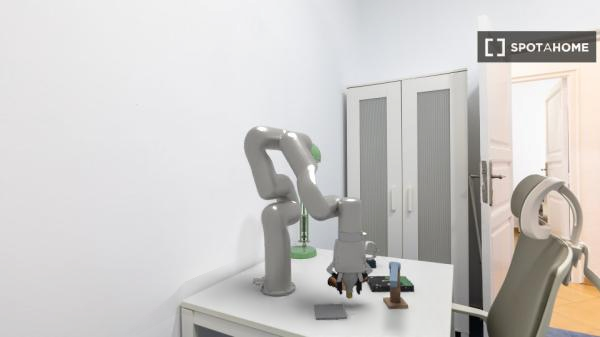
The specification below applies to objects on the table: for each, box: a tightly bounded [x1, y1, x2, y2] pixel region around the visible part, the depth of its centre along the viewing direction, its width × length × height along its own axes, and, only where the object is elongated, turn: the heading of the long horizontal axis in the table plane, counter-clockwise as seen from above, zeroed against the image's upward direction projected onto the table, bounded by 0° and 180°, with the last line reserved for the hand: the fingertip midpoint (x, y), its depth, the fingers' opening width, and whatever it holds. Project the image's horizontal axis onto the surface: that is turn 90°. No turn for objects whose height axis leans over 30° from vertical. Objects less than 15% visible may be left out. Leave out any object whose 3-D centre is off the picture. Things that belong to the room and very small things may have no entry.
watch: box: [364, 240, 379, 269], centre depth 138 cm, size 6×8×11 cm
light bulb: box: [341, 272, 358, 300], centre depth 100 cm, size 6×6×10 cm
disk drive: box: [366, 275, 415, 293], centre depth 115 cm, size 10×3×15 cm
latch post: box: [382, 269, 409, 310], centre depth 100 cm, size 6×6×11 cm
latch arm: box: [388, 261, 402, 287], centre depth 93 cm, size 18×4×2 cm, turn 162°
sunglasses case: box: [327, 273, 367, 292], centre depth 120 cm, size 18×7×7 cm
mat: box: [313, 303, 348, 321], centre depth 95 cm, size 9×9×1 cm
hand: (349, 292), depth 100 cm, fingers closed on light bulb, 5 cm apart
